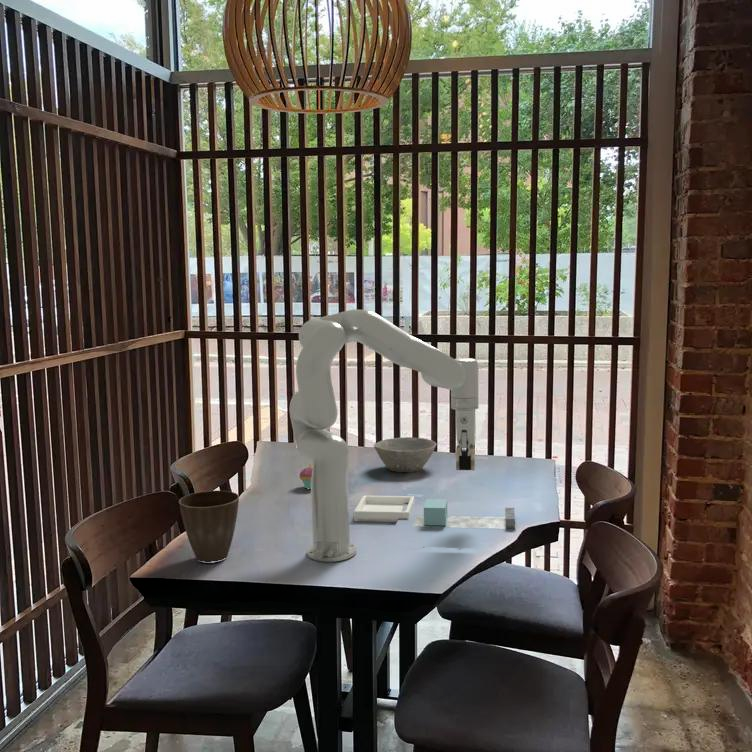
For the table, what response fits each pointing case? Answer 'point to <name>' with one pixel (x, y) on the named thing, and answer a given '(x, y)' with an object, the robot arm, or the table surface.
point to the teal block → (435, 512)
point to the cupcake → (306, 476)
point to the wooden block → (472, 453)
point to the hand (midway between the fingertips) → (465, 466)
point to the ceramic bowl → (405, 453)
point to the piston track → (474, 521)
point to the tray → (383, 508)
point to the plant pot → (210, 522)
